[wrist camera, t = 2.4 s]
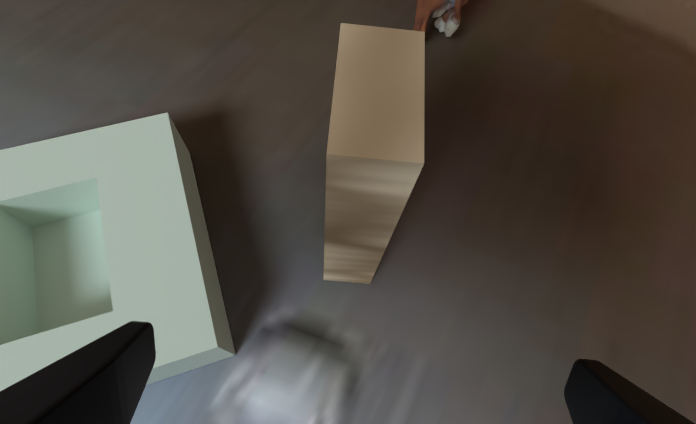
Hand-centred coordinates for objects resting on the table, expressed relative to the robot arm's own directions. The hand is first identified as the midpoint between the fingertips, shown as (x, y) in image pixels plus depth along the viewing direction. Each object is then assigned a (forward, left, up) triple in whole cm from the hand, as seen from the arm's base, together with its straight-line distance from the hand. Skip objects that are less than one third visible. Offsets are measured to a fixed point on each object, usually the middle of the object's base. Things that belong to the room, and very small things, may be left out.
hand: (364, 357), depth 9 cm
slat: (+3, -6, -13) cm, 15 cm away
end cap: (+13, +3, -13) cm, 19 cm away
